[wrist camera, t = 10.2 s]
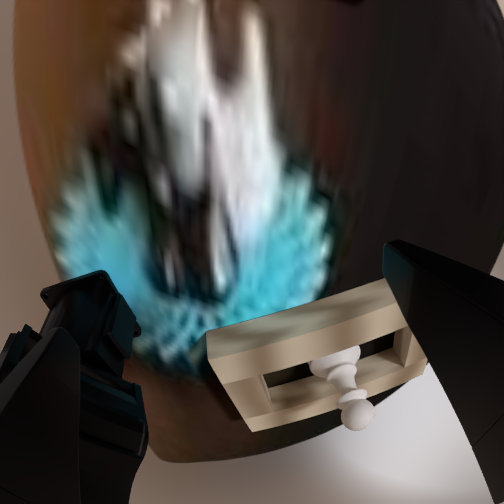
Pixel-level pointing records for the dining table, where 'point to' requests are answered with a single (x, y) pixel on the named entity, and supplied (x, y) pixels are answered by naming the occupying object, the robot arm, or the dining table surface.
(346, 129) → the dining table surface
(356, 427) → the chess pawn
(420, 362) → the wooden rectangular frame
